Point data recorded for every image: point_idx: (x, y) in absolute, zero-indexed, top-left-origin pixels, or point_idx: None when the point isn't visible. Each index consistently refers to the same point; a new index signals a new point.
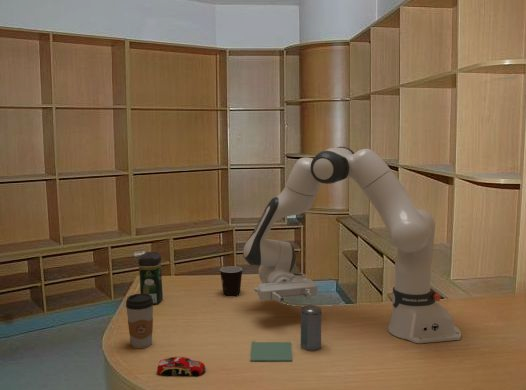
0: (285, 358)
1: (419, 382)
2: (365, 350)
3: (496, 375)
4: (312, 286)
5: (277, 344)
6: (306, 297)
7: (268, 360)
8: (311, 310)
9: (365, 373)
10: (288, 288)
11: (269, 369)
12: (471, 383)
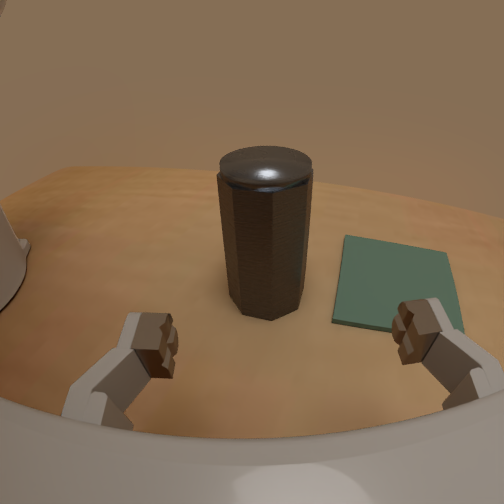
0: (362, 242)
1: (149, 171)
2: (134, 245)
3: (59, 177)
4: (16, 404)
5: (382, 312)
6: (175, 336)
7: (404, 245)
8: (270, 152)
9: (206, 189)
10: (335, 437)
11: (398, 226)
12: (98, 168)
